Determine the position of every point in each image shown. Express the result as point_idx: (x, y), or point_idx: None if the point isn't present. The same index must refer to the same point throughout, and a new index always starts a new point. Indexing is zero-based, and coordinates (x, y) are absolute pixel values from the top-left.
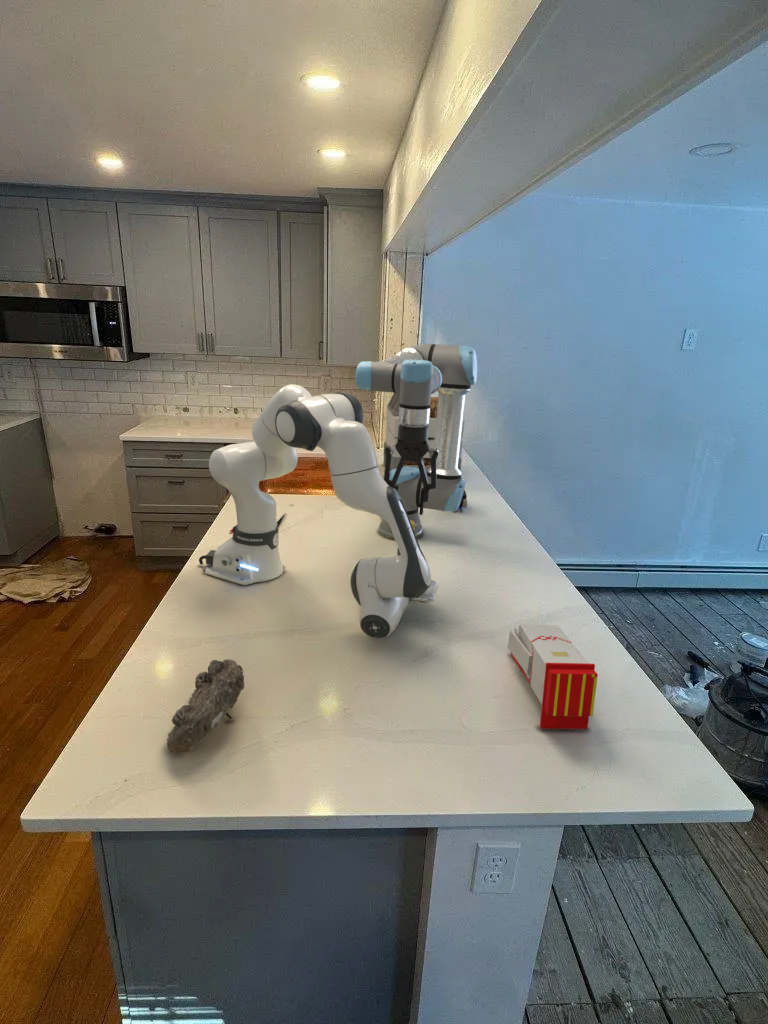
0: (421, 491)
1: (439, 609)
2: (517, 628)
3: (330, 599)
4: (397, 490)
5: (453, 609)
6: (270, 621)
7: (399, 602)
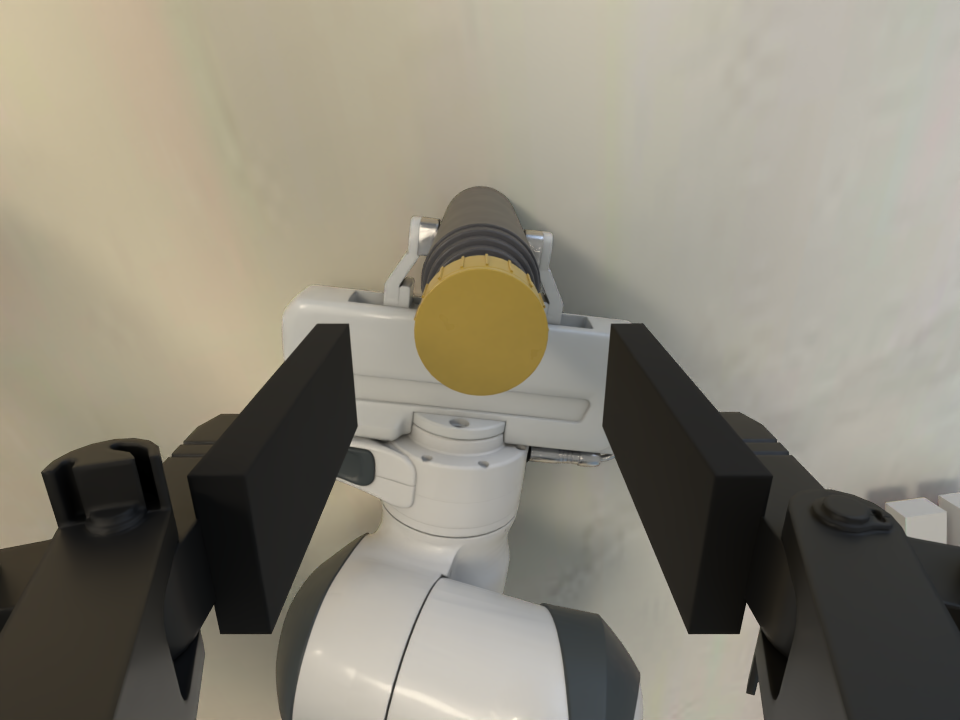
0: (694, 621)
1: (635, 301)
2: (912, 530)
3: (199, 319)
4: (280, 555)
5: (691, 289)
6: None
7: (497, 579)
